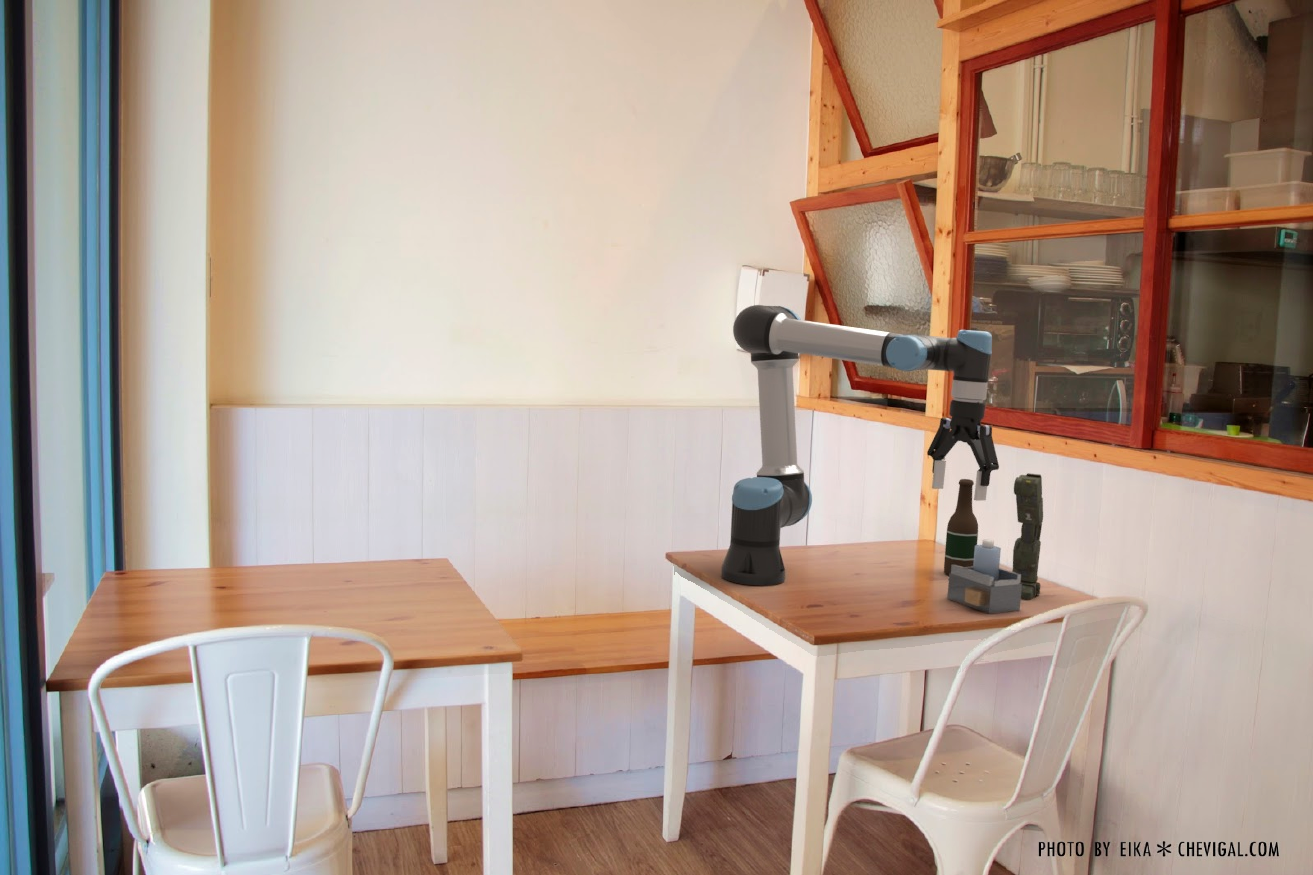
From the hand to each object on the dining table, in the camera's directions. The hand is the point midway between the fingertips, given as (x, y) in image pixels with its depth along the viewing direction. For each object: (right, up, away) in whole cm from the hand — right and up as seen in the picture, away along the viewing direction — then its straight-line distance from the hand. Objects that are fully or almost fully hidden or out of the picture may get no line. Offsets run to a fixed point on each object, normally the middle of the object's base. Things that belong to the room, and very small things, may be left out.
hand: (958, 494), depth 237 cm
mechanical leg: (+18, -24, +10) cm, 31 cm away
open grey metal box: (+4, -24, -1) cm, 25 cm away
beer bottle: (+8, -22, +27) cm, 36 cm away
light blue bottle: (+6, -19, -2) cm, 19 cm away
